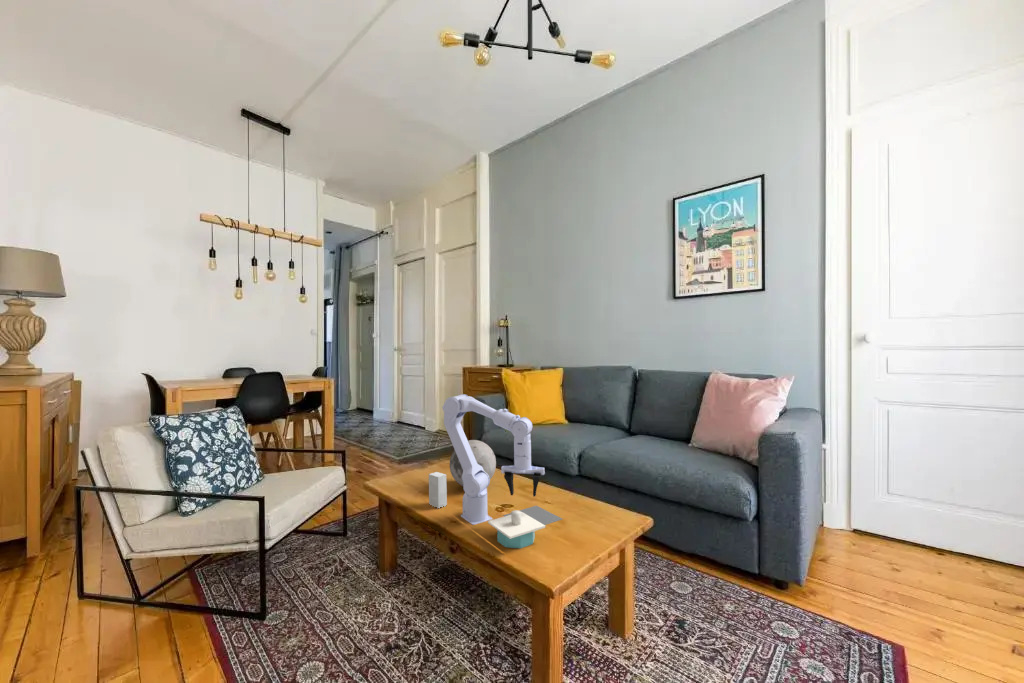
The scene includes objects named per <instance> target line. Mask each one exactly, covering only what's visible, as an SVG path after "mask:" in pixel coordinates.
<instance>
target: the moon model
mask: <svg viewBox="0 0 1024 683" xmlns="http://www.w3.org/2000/svg"><path fill="white" fill-rule="evenodd" d="M468 443H469V445H470V447H471V450H472V452H473V454H474V457H475V459H476V462H477V464H479V465H480V466H482V467H483V470H484V471H485V472H486V473H487V474H488V476H489V478H490V480H491V479H492V477H493V476H494V474H495V471H496V467H497V461H496V460H497V459H496V455H495V453H494V450H493V449H492V448H491V447H490V446H489V445H488V444H487V443H485V442H484V441H481V440H477V439H470V440H469V439H468ZM449 472H450V474H451V476H452V478H453V479H454V481H455V482H456V483H457V484H459V485H460V486H462V487H463V480H462V474H463V469H462V466H461V464H460V461H459V459H458V456H457V454H456V452H455V449H453V451H452V453H451V455H450V458H449Z"/></svg>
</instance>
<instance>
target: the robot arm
mask: <svg viewBox="0 0 1024 683" xmlns="http://www.w3.org/2000/svg"><path fill="white" fill-rule="evenodd" d="M442 410H443V424H444V427H445V430H446V432H447V434H448V436H449V439H450V442H451V444H452V447H453V450H455V452H456V454H457V456H458V459H459V461H460V464H461V466H462V469H463V474H462V480H463V486H462V487H463V491H464V494H463V496H462V514H460V517H461V518H462V519H464V520H465V521H466V522H468V523H470V524H471V526H474V525H479V524H481V523H485V522H488V521H491V520H494V518H493V517H492V516H490V515H489V514H488V487H489V486H490V482H491V479H490V478H489V476H488V474H487V473H486V472H485V471H484V470H483V467H482V466H480V465H479V464H477V462H476V459H475V457H474V454H473V452H472V450H471V447H470V445H469V443H468V441H469V439H468V438H467V435H466V434H465V432H464V428H463V426H462V423H461V422H462V420H463V418H464V416H465V414H467V412H468V413H469V412H474V413H477V414H479V415H482V416H485V417H486V418H489V419H491V420H492V422H493V424H494V425H496V426H498V427H500V428H502V429H505V430H506V431H509V432H511V434H512V435H513V452H514V453H513V457H514V459H513V463H514V464H513V465H502V466H501V468H500V470H501V472H500V473H501V474H504V475H503V477H504V480H505V482H506V484H507V486H508V490H509V494H510V496H514V493H515V491H514V489H515V488H514V475H515V474H528V475H532V484H533V485H532V487H533V488H532V490H533V491H532V497H536V496H537V488H538V485H539V481H540V479H541V477H542V476H544V475H545V474H546V472H545V467H542V466H534V465H532V440H531V432H532V430H533V423H532V421H531V419H529V418H528V417H526V416H523V417H521V415H519V414H517V415H516V414H514V413H512V412H510V411H509V409H507V408H500V409H495V408H493V407H491V406H489V405H488V404H486V403H483V402H481V401H479V400H478V399H476V398H475V397H473V396H470V395H469V396H468V394H464V393H461V394H459V395H455V396H449V397H448V398H446V399H445V401H444V403H443V405H442Z"/></svg>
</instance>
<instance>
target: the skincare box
mask: <svg viewBox="0 0 1024 683" xmlns="http://www.w3.org/2000/svg"><path fill="white" fill-rule="evenodd" d="M447 493H448V489H447V474H445V473H442V472H438V471H435V472H431V473H429V474H428V505H429V504H430V505H432V506H431V507H433V506H434V507H433V508H435V507H437V508H436V509H438V508H439V509H441V508H440V507H442V508H444V507H447V506H448V500H447V499H448V498H447V496H448V494H447ZM430 505H429V506H430ZM446 505H447V506H446ZM443 506H444V507H443Z"/></svg>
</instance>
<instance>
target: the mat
mask: <svg viewBox="0 0 1024 683" xmlns="http://www.w3.org/2000/svg"><path fill="white" fill-rule="evenodd" d="M518 511H521V512H523V513H525V514H527V515H528V516H530V517H532V518H533V519H535V520H537V521H538V522H540V523H542V524H544V525H545V526H546V525H549V524H552V523H555V522H560V521H562V520H563V518H562V517H560V516H558V515H556V514H554V513H552V512H550V511H549V510H546V509H544V508H542V507H540V506H539V505H534V506H531V507H530V506H529V507H527V508H524V509H520V510H518ZM508 515H511V512H510V513H506V514H503V515H502V517H505V516H508Z"/></svg>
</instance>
